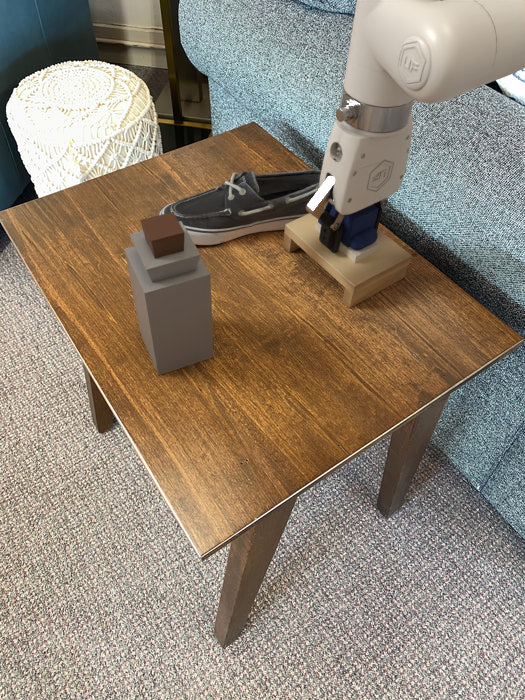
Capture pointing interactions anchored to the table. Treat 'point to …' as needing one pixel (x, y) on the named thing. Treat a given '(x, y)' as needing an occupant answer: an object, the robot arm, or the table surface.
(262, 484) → the table surface
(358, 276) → the shoe shelf
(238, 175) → the boat shoe
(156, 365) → the perfume bottle
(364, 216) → the high-top sneaker
